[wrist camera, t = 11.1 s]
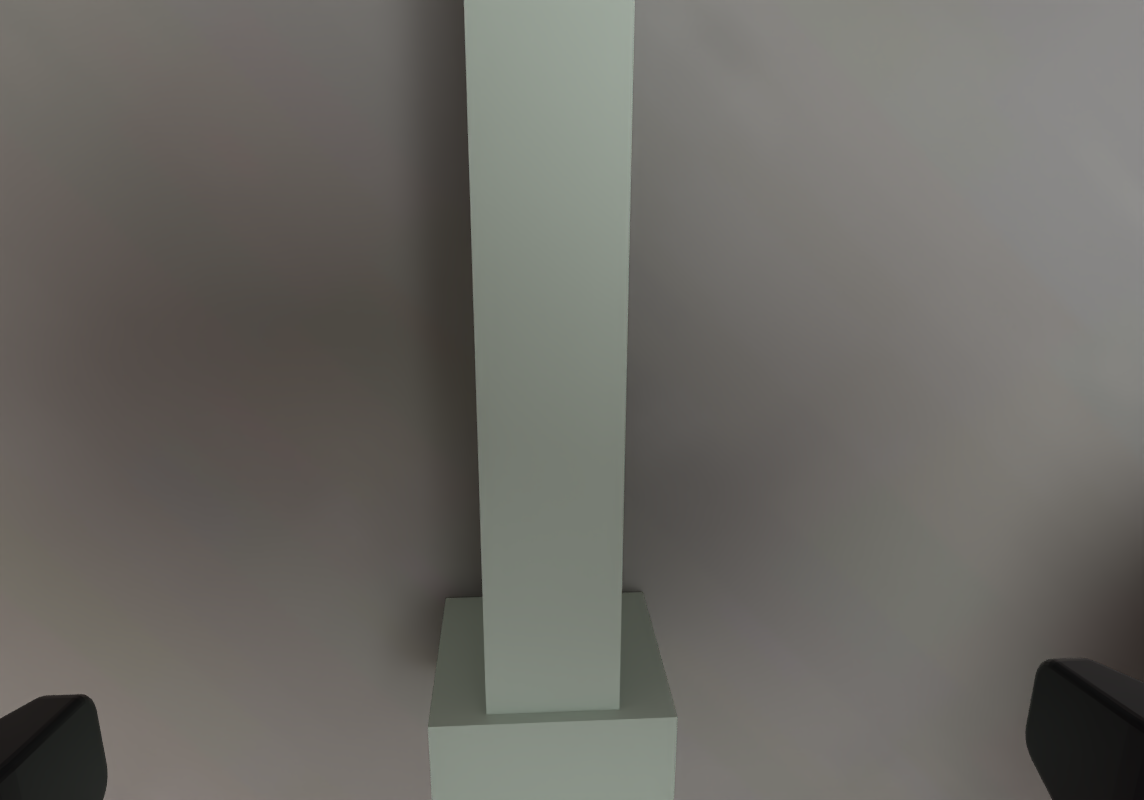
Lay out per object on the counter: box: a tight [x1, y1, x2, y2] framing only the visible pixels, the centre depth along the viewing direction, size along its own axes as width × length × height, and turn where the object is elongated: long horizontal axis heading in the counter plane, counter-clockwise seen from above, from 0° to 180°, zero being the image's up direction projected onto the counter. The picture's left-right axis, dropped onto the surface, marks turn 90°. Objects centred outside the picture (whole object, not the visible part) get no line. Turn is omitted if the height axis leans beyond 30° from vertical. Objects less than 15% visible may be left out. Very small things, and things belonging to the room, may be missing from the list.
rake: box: [428, 0, 678, 800], centre depth 17 cm, size 23×12×5 cm, turn 0°
